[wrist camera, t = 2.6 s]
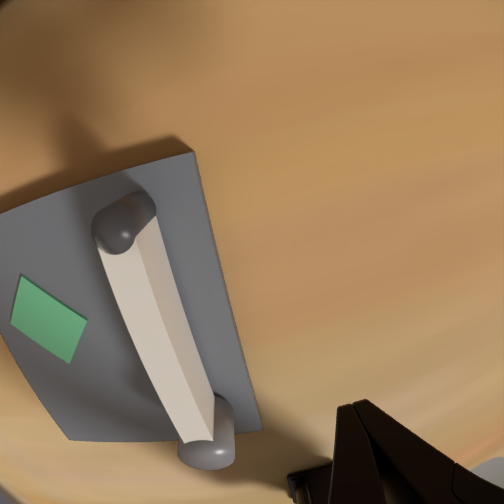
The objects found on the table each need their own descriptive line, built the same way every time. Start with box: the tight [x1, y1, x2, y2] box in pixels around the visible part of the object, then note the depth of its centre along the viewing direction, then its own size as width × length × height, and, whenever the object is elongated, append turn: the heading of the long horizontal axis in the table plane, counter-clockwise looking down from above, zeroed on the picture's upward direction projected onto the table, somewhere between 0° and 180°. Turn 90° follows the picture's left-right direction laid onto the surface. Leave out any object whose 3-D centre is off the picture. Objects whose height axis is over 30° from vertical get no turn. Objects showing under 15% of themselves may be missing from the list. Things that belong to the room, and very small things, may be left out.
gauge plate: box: [0, 151, 263, 442], centre depth 17 cm, size 18×16×1 cm
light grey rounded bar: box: [91, 191, 235, 470], centre depth 15 cm, size 16×3×4 cm, turn 11°
